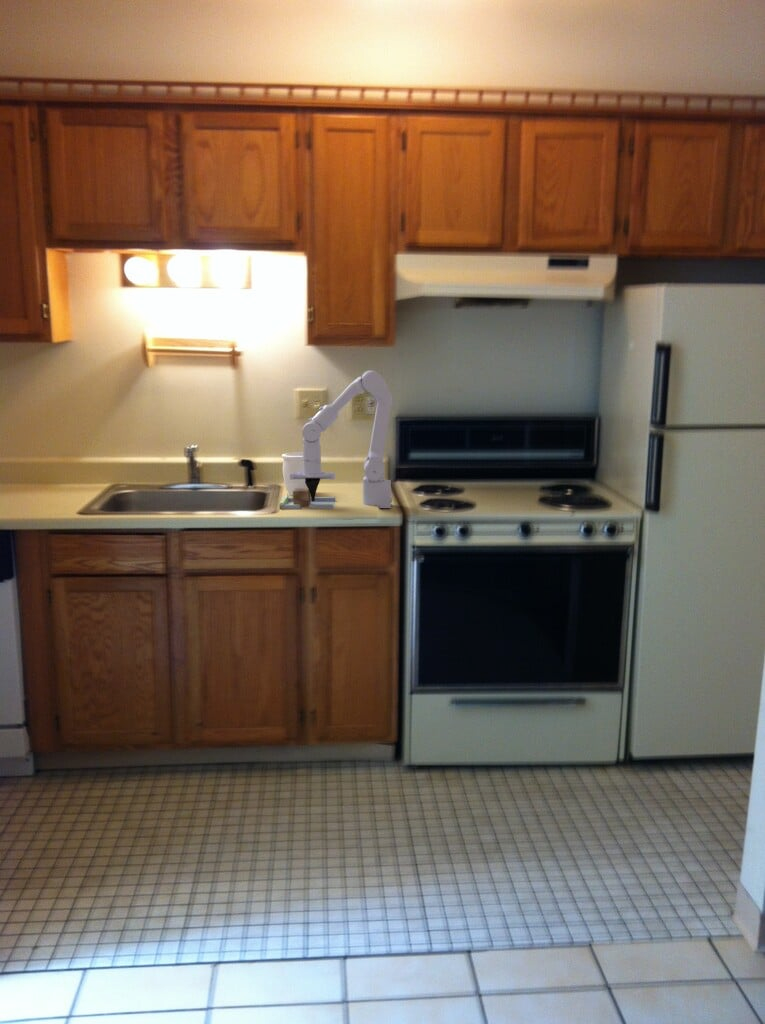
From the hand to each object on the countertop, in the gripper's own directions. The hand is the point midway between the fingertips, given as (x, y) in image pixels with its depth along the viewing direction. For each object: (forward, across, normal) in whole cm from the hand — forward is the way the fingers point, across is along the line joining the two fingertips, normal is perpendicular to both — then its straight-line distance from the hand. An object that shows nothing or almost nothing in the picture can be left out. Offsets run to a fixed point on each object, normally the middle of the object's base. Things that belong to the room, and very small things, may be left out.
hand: (313, 500), depth 277 cm
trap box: (+2, -2, 0) cm, 3 cm away
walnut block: (+1, -4, 0) cm, 4 cm away
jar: (+3, -7, +19) cm, 20 cm away
